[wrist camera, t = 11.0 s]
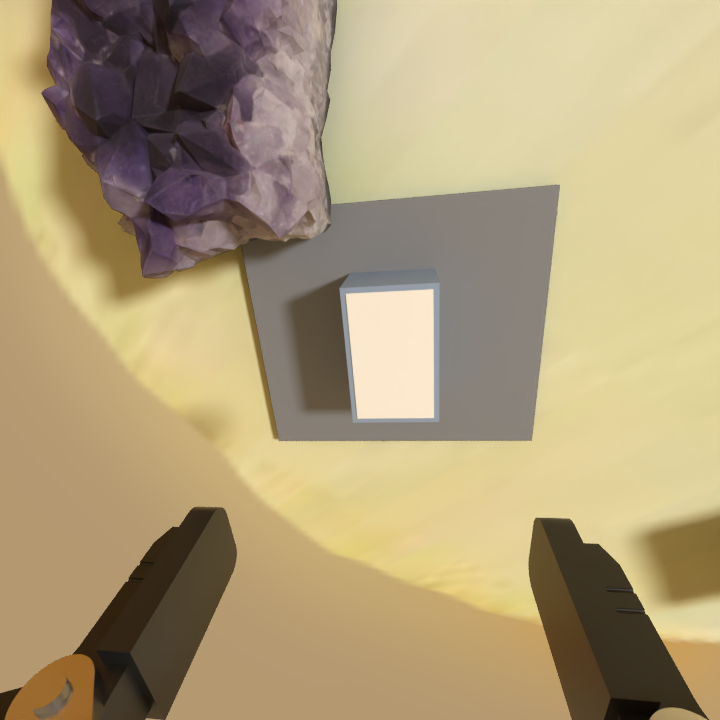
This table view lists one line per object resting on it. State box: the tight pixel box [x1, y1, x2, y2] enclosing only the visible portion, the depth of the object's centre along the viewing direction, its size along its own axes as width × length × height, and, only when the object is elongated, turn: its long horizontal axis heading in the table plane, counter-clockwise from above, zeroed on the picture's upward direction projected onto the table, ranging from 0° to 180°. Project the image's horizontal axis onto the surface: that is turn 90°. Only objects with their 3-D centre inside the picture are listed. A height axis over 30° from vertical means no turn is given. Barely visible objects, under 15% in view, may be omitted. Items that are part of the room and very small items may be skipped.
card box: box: [339, 268, 440, 423], centre depth 23 cm, size 5×8×4 cm, turn 4°
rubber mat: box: [241, 185, 560, 441], centre depth 25 cm, size 16×18×1 cm
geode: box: [41, 0, 337, 278], centre depth 16 cm, size 20×12×10 cm, turn 177°
